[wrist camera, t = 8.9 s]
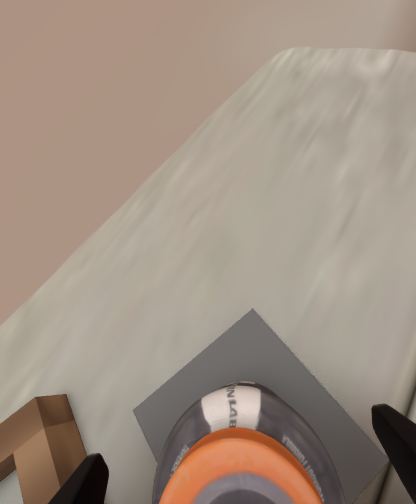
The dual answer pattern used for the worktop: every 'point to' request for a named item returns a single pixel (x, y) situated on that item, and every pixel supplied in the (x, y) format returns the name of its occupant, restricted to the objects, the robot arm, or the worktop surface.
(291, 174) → the worktop surface
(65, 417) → the bottle holder
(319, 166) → the worktop surface
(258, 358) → the rubber mat
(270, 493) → the pill bottle
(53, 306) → the worktop surface
